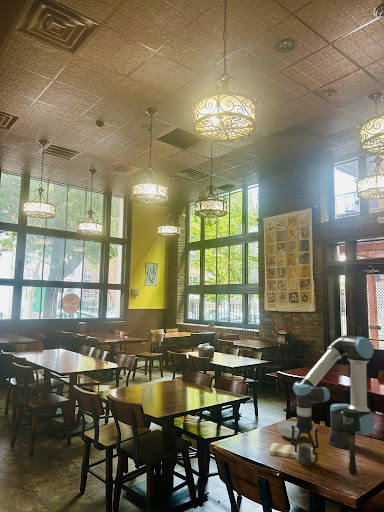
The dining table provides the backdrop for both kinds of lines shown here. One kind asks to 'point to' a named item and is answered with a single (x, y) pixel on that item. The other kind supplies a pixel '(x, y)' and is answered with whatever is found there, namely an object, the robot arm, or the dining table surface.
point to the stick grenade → (351, 434)
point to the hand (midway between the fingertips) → (305, 460)
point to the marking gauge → (305, 454)
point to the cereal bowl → (288, 429)
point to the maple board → (284, 450)
